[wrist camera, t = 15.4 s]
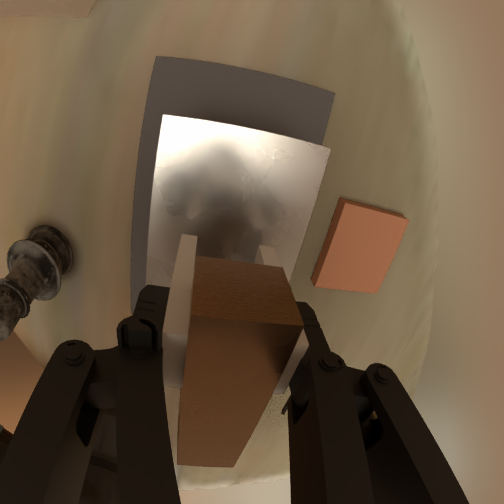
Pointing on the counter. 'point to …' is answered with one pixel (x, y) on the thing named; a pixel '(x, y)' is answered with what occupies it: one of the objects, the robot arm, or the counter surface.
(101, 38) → the counter surface
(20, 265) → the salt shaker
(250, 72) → the mat
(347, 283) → the tile
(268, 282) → the trowel
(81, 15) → the milk
